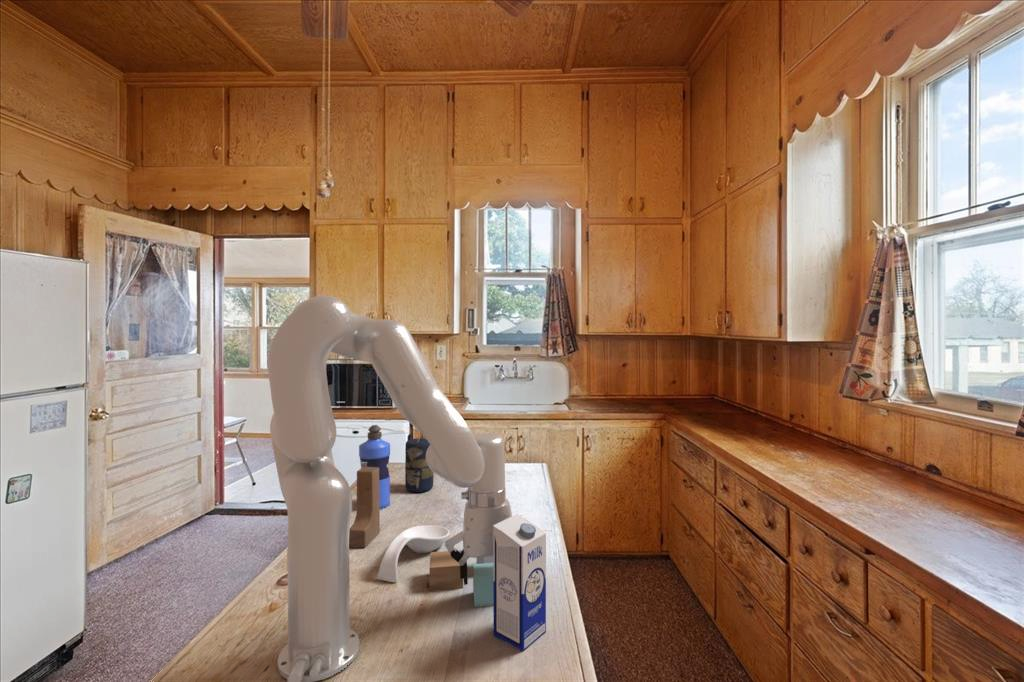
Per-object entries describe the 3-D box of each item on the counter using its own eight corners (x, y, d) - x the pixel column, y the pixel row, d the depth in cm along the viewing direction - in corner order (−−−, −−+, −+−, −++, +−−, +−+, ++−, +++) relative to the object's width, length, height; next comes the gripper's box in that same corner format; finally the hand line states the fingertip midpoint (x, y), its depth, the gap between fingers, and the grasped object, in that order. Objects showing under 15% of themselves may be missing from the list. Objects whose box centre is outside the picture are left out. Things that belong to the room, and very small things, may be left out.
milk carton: (517, 617, 89) (517, 512, 88) (546, 631, 84) (546, 521, 84) (492, 635, 83) (492, 524, 83) (522, 652, 79) (522, 534, 79)
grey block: (504, 571, 106) (504, 545, 106) (483, 575, 104) (483, 549, 104) (496, 561, 110) (496, 536, 110) (476, 565, 108) (476, 539, 108)
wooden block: (365, 548, 117) (364, 477, 116) (348, 547, 117) (347, 476, 117) (380, 533, 126) (379, 466, 125) (364, 532, 126) (363, 466, 126)
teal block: (499, 604, 93) (499, 574, 93) (474, 606, 92) (474, 576, 92) (497, 590, 98) (497, 562, 98) (473, 592, 97) (473, 564, 97)
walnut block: (463, 588, 99) (463, 565, 99) (429, 591, 98) (429, 567, 98) (462, 572, 106) (461, 550, 106) (430, 574, 105) (430, 552, 105)
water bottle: (383, 497, 153) (383, 421, 152) (395, 506, 145) (394, 426, 145) (355, 504, 147) (354, 425, 147) (365, 513, 140) (365, 430, 139)
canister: (400, 492, 158) (399, 439, 157) (413, 483, 167) (413, 433, 166) (425, 495, 155) (425, 441, 155) (438, 486, 164) (438, 435, 164)
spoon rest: (416, 534, 125) (416, 508, 125) (456, 540, 122) (456, 513, 122) (364, 579, 103) (364, 547, 103) (412, 587, 99) (412, 554, 99)
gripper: (443, 506, 90) (446, 593, 90) (532, 499, 92) (534, 584, 93) (444, 492, 97) (446, 573, 98) (525, 486, 100) (527, 565, 100)
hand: (489, 578), depth 95 cm, fingers open, 9 cm apart
